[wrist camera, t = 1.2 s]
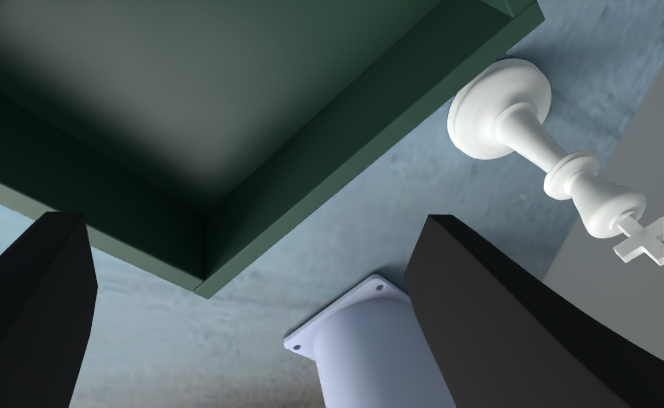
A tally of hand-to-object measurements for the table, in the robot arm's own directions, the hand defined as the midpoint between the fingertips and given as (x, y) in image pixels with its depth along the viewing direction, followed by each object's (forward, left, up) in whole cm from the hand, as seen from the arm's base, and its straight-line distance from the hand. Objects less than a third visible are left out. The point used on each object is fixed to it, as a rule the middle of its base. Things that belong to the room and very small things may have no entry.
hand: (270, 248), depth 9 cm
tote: (+2, -1, -10) cm, 10 cm away
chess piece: (-10, -7, -10) cm, 15 cm away
